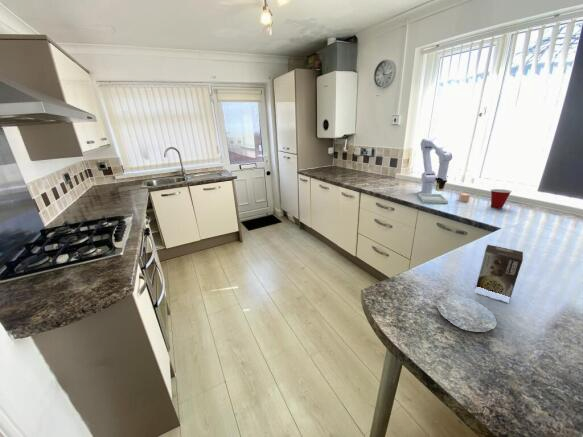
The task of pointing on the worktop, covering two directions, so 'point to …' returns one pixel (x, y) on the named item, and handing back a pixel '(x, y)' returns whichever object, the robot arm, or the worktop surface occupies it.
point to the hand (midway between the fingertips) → (439, 188)
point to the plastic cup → (499, 197)
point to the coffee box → (499, 270)
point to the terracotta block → (464, 197)
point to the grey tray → (432, 198)
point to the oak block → (438, 187)
